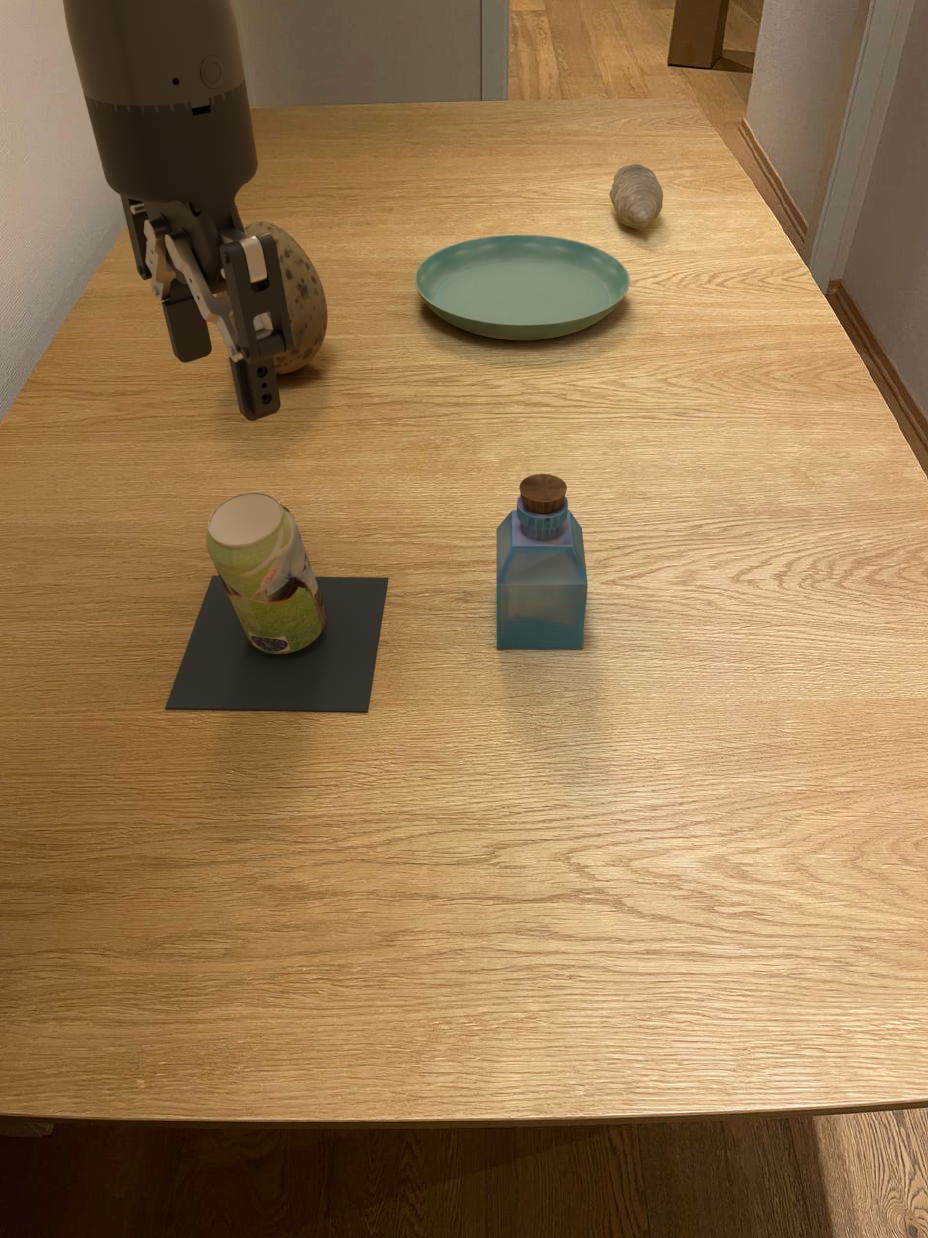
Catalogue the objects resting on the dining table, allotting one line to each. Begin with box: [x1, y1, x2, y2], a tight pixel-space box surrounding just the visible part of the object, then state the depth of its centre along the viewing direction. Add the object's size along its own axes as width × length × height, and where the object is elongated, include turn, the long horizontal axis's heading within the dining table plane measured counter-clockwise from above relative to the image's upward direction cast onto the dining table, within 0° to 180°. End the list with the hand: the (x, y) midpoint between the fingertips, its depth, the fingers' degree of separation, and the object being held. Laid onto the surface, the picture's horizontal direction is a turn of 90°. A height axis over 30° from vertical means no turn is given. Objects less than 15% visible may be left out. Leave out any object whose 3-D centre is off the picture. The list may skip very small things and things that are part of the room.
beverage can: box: [205, 491, 327, 654], centre depth 67 cm, size 6×7×12 cm
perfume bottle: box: [495, 473, 589, 650], centre depth 68 cm, size 6×6×12 cm
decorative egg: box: [215, 220, 329, 375], centre depth 97 cm, size 11×11×15 cm
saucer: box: [414, 234, 631, 341], centre depth 111 cm, size 24×24×3 cm
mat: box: [164, 575, 389, 713], centre depth 72 cm, size 14×14×1 cm
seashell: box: [608, 163, 664, 229], centre depth 126 cm, size 6×14×8 cm, turn 3°
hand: (226, 384), depth 57 cm, fingers open, 8 cm apart
